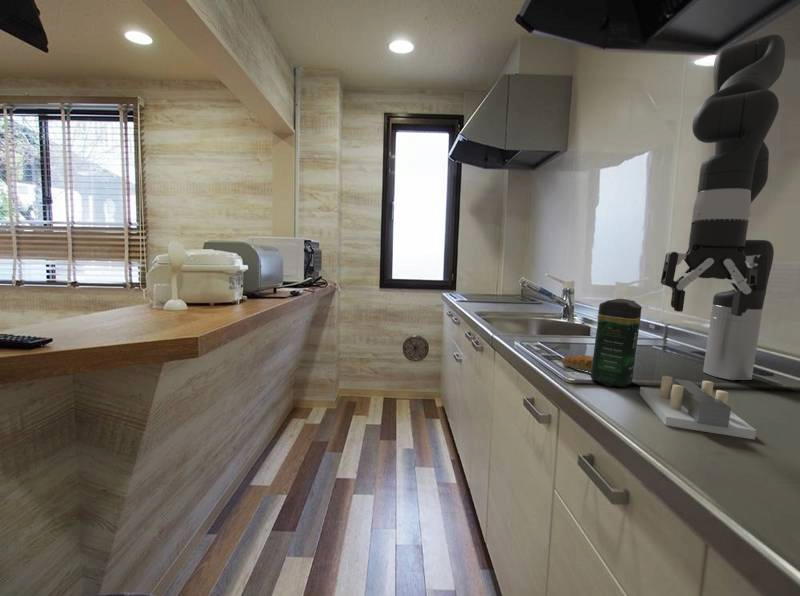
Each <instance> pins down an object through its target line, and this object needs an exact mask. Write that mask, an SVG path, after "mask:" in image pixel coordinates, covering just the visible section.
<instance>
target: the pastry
mask: <svg viewBox="0 0 800 596" xmlns="http://www.w3.org/2000/svg"><path fill="white" fill-rule="evenodd" d="M561 362H562V364H563V365H564V364H565V365H567V366H570V367H573V368H575V369H580V370H584V371H588V372H591V368H592V362H593V356H591V355H586V354H585V355H582V354H581V355H580V354H579V355H574V356H573V355H569V356H565V357H562V358H561Z"/></svg>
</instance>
